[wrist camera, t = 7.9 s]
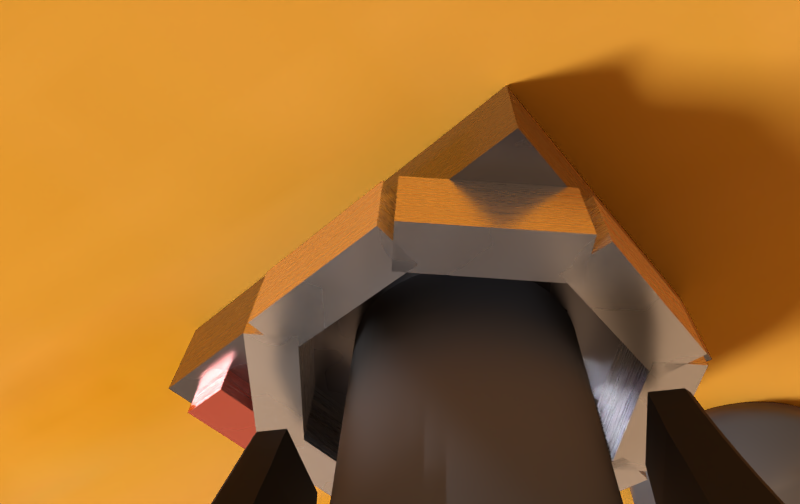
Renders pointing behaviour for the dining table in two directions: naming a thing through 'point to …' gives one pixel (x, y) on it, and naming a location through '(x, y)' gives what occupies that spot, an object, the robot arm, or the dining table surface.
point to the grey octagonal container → (458, 256)
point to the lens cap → (756, 445)
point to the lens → (470, 400)
